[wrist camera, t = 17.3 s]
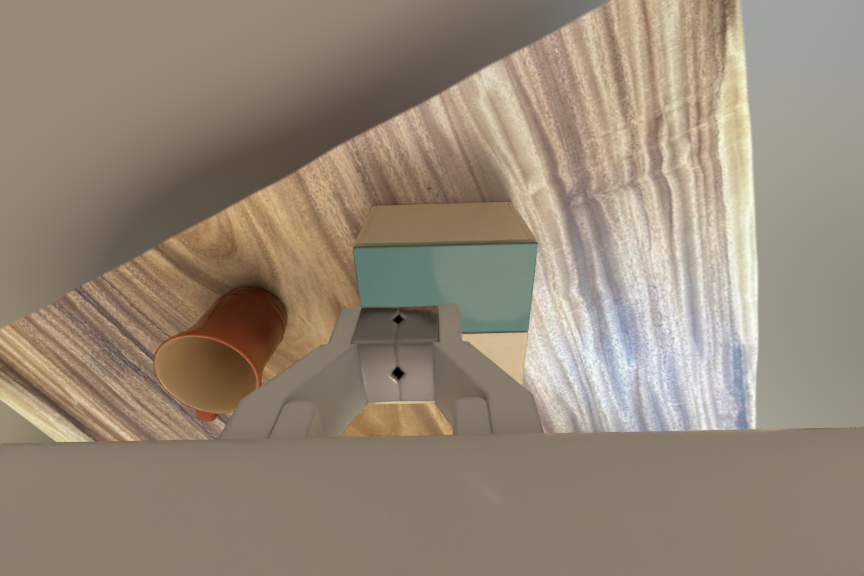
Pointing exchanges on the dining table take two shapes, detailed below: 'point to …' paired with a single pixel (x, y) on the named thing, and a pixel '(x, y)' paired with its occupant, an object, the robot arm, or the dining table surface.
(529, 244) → the flap
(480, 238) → the carton
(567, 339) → the dining table surface
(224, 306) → the mug
